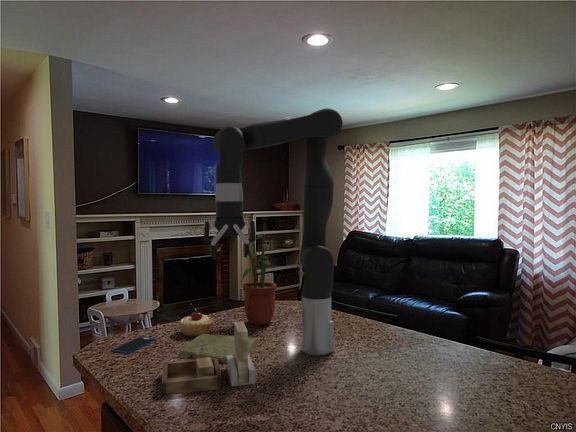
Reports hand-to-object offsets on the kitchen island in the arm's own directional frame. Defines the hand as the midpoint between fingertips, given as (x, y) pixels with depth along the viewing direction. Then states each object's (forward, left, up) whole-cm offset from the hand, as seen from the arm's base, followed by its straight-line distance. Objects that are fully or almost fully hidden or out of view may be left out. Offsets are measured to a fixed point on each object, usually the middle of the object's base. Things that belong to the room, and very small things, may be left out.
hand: (230, 258), depth 111 cm
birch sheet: (-2, +8, -30) cm, 31 cm away
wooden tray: (+11, +8, -31) cm, 34 cm away
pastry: (+8, -34, -31) cm, 47 cm away
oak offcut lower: (+8, +8, -30) cm, 32 cm away
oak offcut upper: (+8, +8, -28) cm, 30 cm away
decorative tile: (+3, -12, -32) cm, 34 cm away
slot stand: (-2, +8, -31) cm, 32 cm away
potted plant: (-14, -40, -31) cm, 52 cm away
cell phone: (+28, -26, -32) cm, 50 cm away
